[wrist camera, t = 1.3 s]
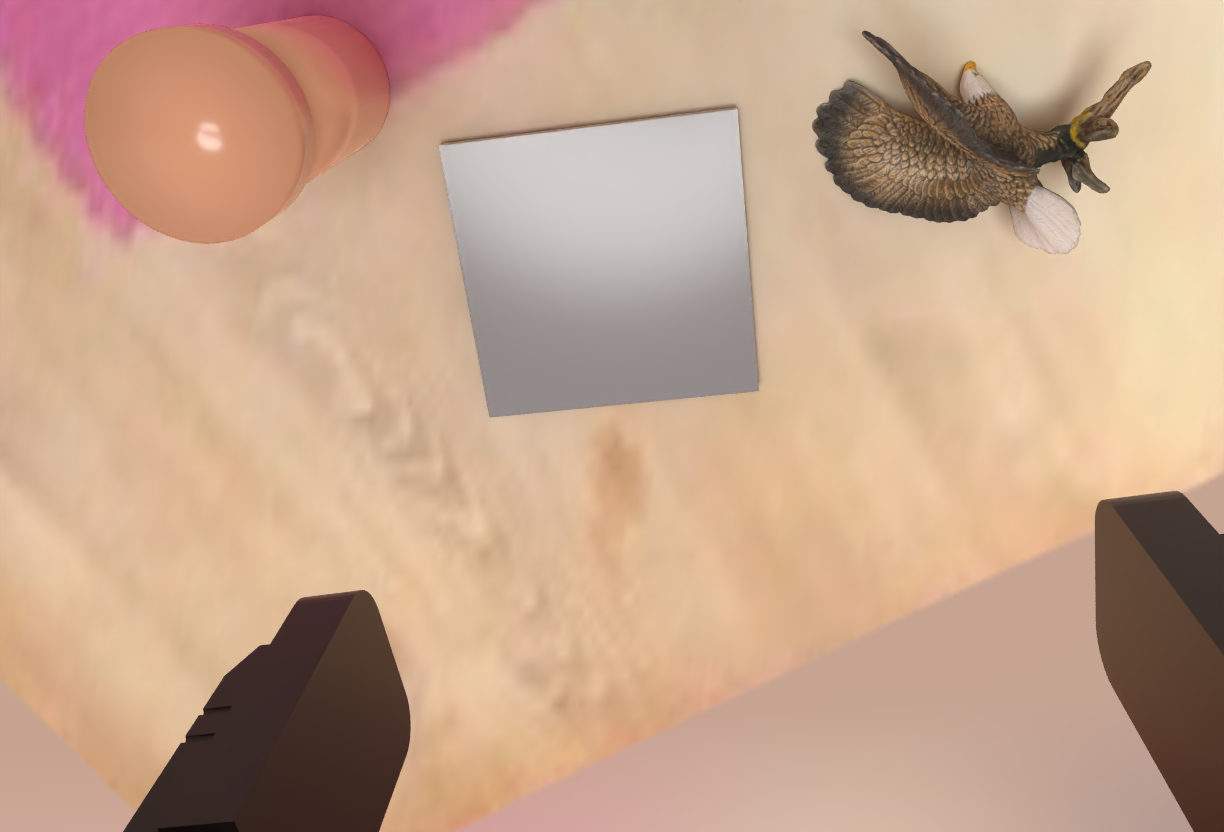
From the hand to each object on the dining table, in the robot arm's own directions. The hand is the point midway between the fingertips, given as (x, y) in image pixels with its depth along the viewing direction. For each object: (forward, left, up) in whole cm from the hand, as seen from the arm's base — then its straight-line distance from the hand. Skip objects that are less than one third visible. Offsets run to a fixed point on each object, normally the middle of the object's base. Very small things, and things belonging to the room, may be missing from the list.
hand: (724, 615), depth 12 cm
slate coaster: (-3, -4, -30) cm, 30 cm away
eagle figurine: (+10, 0, -30) cm, 32 cm away
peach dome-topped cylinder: (-13, +4, -30) cm, 33 cm away
